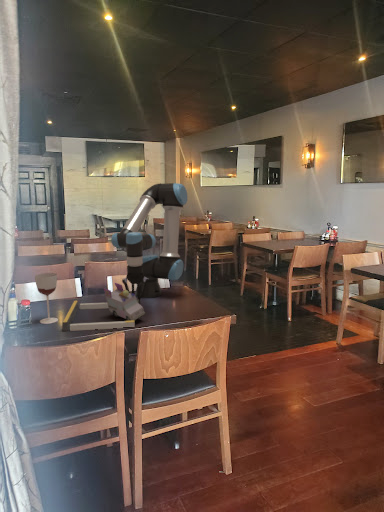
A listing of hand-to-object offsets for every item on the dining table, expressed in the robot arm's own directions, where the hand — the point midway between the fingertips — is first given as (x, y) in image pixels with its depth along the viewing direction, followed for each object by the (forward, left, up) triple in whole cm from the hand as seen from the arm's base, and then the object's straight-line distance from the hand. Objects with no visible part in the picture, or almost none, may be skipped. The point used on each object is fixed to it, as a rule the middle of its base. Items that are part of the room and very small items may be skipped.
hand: (136, 312), depth 184 cm
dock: (+16, 0, -2) cm, 17 cm away
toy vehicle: (+4, +3, -1) cm, 5 cm away
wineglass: (+41, +1, -2) cm, 41 cm away
